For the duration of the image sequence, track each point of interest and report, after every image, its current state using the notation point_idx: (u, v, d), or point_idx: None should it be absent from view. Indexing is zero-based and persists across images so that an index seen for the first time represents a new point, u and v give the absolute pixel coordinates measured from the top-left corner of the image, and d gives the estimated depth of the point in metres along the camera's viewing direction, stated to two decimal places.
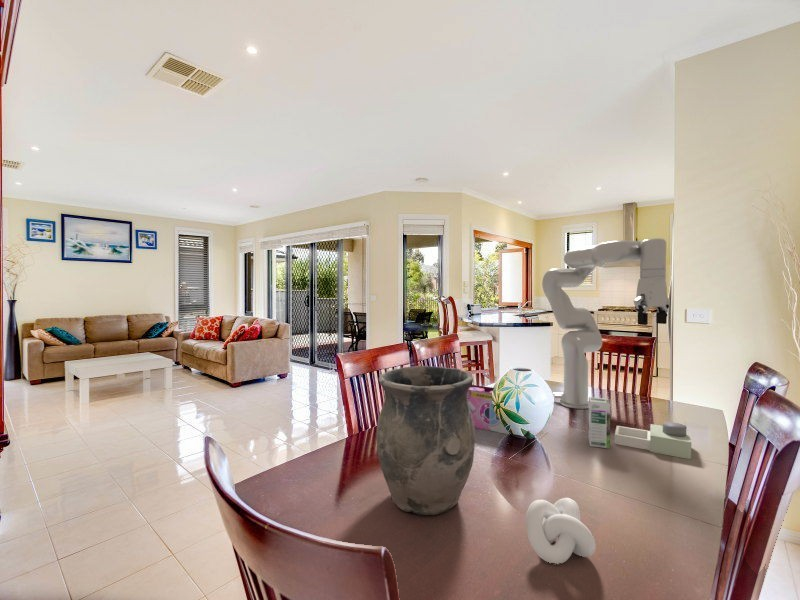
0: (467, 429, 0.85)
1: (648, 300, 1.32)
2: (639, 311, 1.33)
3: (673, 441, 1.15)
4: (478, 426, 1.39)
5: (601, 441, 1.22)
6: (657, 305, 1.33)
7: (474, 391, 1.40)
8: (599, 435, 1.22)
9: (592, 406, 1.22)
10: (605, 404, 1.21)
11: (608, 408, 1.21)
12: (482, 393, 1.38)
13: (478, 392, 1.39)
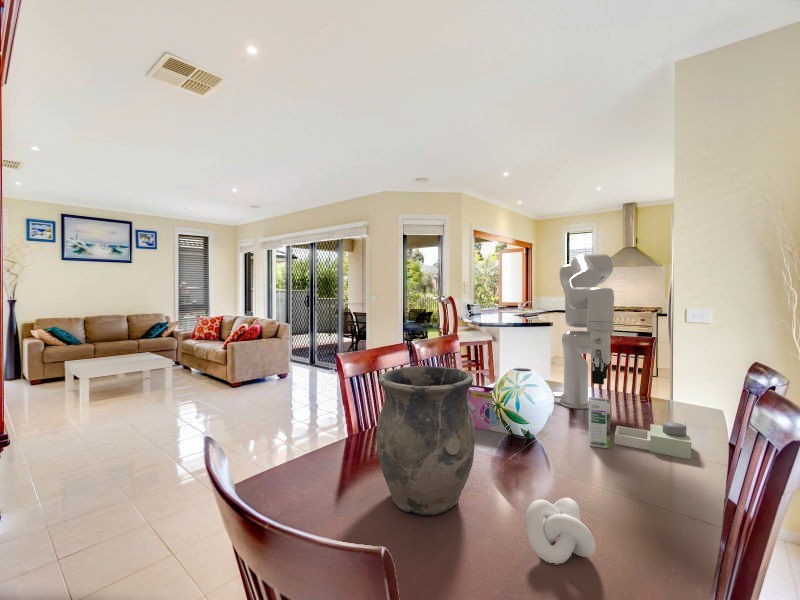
0: (467, 429, 0.85)
1: None
2: None
3: (673, 441, 1.15)
4: (478, 426, 1.39)
5: (601, 441, 1.22)
6: (592, 359, 1.25)
7: (474, 391, 1.40)
8: (599, 435, 1.22)
9: (592, 406, 1.22)
10: (605, 404, 1.21)
11: (608, 408, 1.21)
12: (482, 393, 1.38)
13: (478, 392, 1.39)
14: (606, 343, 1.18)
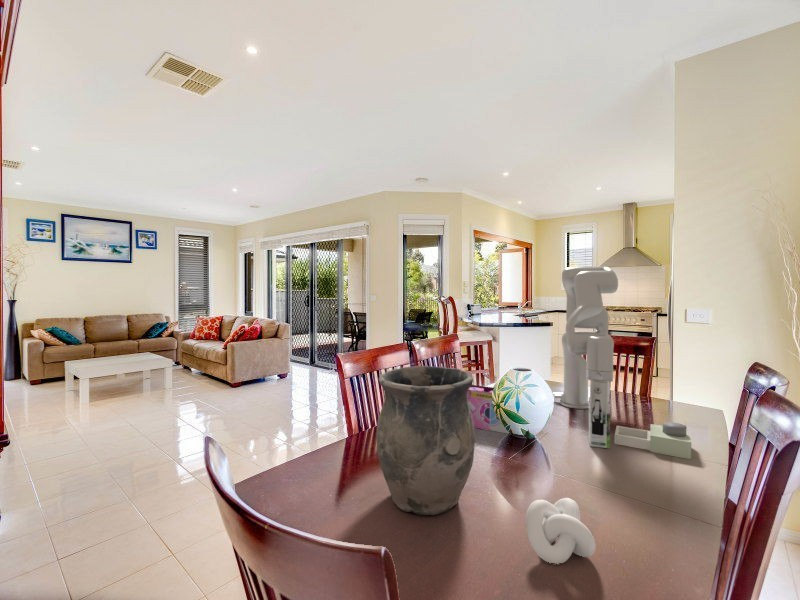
0: (467, 429, 0.85)
1: None
2: None
3: (673, 441, 1.15)
4: (478, 426, 1.39)
5: (601, 441, 1.21)
6: None
7: (474, 391, 1.40)
8: (599, 435, 1.22)
9: None
10: None
11: None
12: (482, 393, 1.38)
13: (478, 392, 1.39)
14: (605, 393, 1.19)
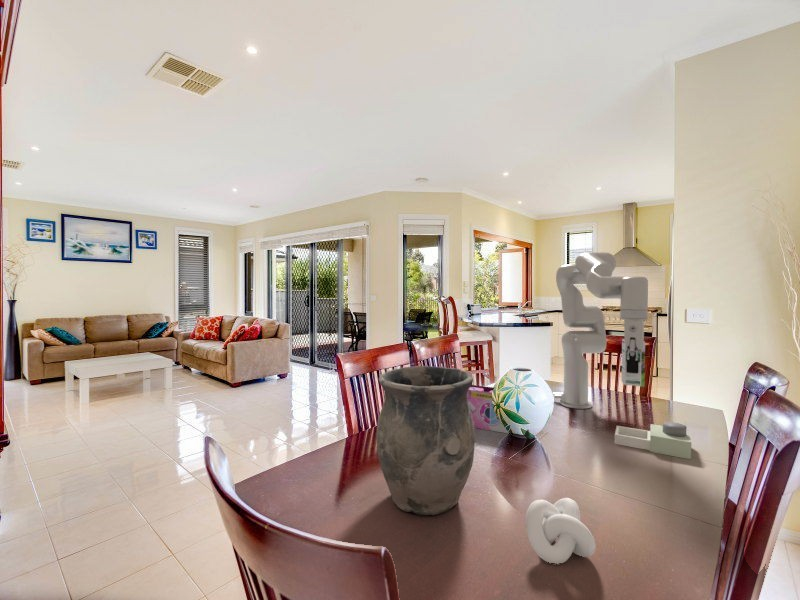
0: (467, 429, 0.85)
1: None
2: None
3: (673, 441, 1.15)
4: (478, 426, 1.39)
5: (636, 379, 1.23)
6: None
7: (474, 391, 1.40)
8: (634, 373, 1.23)
9: None
10: None
11: (643, 346, 1.22)
12: (482, 393, 1.38)
13: (478, 392, 1.39)
14: (641, 331, 1.20)
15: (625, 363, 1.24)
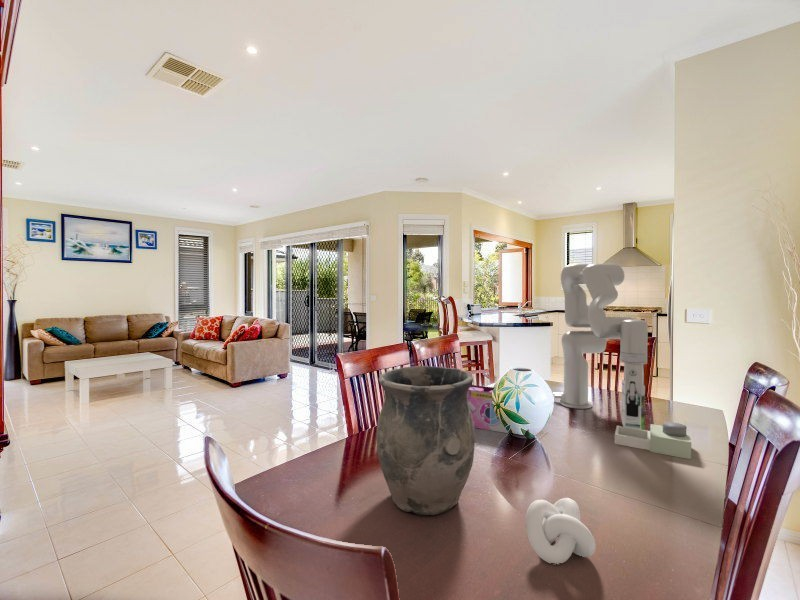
0: (467, 429, 0.85)
1: None
2: None
3: (673, 441, 1.15)
4: (478, 426, 1.39)
5: (636, 423, 1.23)
6: None
7: (474, 391, 1.40)
8: None
9: None
10: None
11: (643, 390, 1.23)
12: (482, 393, 1.38)
13: (478, 392, 1.39)
14: (641, 375, 1.21)
15: (625, 406, 1.25)
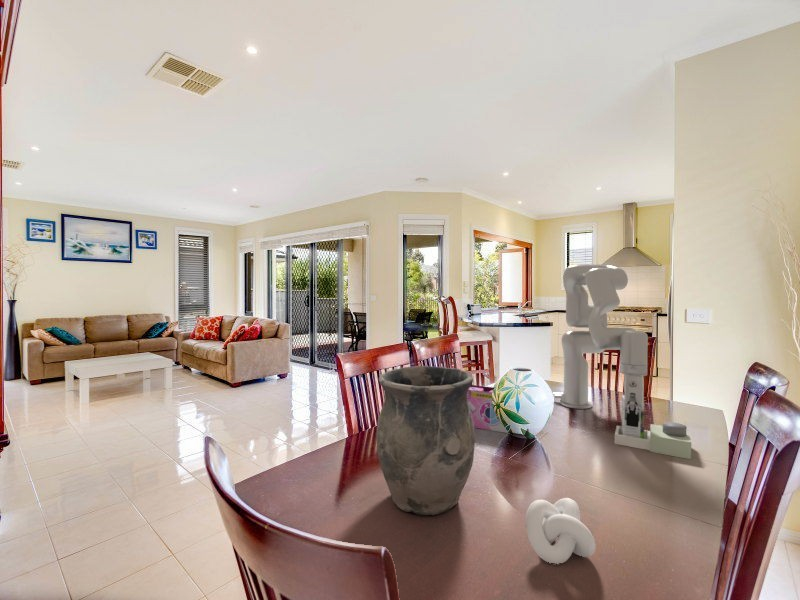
0: (467, 429, 0.85)
1: None
2: None
3: (673, 441, 1.15)
4: (478, 426, 1.39)
5: None
6: None
7: (474, 391, 1.40)
8: (633, 432, 1.24)
9: None
10: None
11: None
12: (482, 393, 1.38)
13: (478, 392, 1.39)
14: (641, 387, 1.21)
15: (624, 421, 1.25)
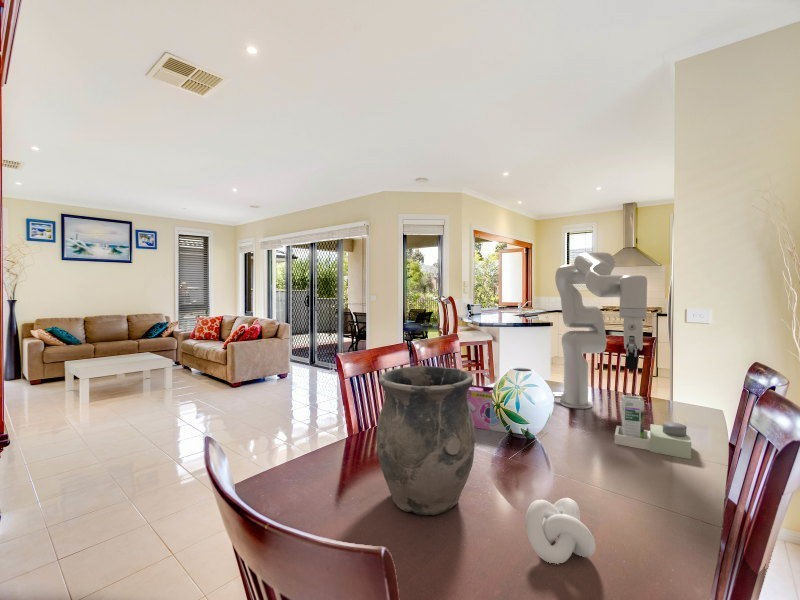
0: (467, 429, 0.85)
1: None
2: None
3: (673, 441, 1.15)
4: (478, 426, 1.39)
5: None
6: None
7: (474, 391, 1.40)
8: (633, 432, 1.24)
9: (626, 404, 1.25)
10: (639, 402, 1.23)
11: (642, 406, 1.23)
12: (482, 393, 1.38)
13: (478, 392, 1.39)
14: (640, 329, 1.21)
15: (624, 421, 1.25)
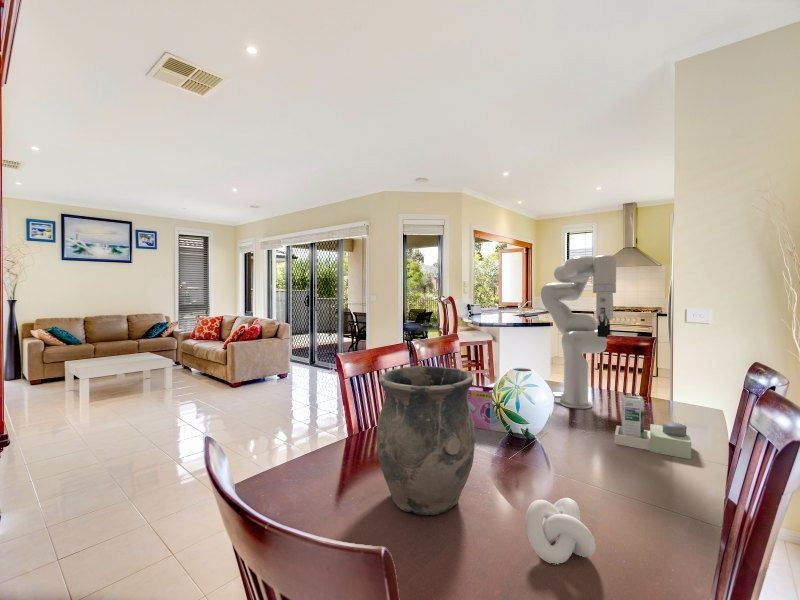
0: (467, 429, 0.85)
1: None
2: None
3: (673, 441, 1.15)
4: (478, 426, 1.39)
5: None
6: (597, 317, 1.46)
7: (474, 391, 1.40)
8: (633, 432, 1.24)
9: (626, 404, 1.25)
10: (639, 402, 1.23)
11: (642, 406, 1.23)
12: (482, 393, 1.38)
13: (478, 392, 1.39)
14: (609, 302, 1.39)
15: (624, 421, 1.25)
